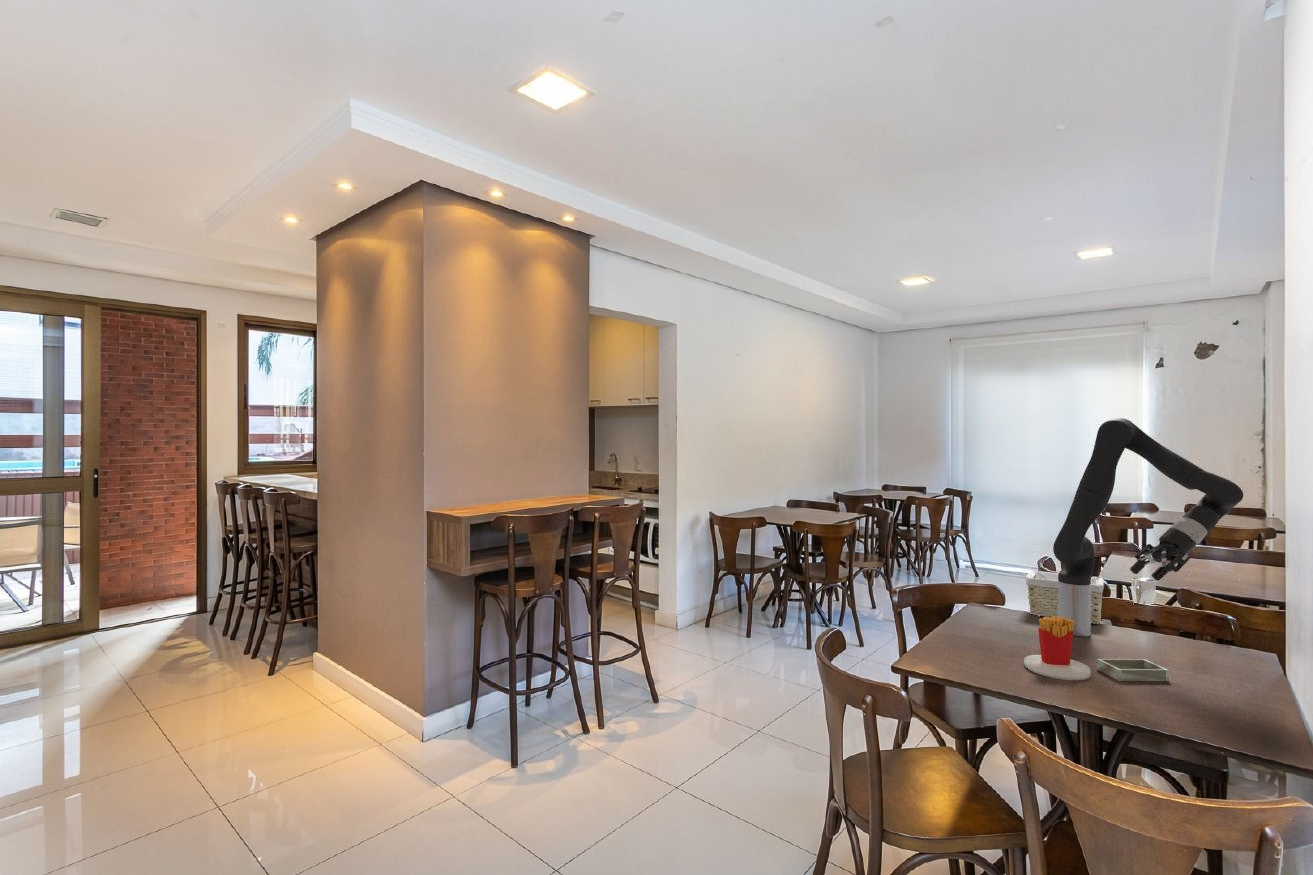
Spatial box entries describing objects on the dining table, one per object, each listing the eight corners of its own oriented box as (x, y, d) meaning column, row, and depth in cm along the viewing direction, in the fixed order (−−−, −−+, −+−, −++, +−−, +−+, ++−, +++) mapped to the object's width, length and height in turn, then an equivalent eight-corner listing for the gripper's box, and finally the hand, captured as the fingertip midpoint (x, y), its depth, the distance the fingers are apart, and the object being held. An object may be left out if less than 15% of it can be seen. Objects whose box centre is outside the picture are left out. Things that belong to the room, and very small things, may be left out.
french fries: (1043, 664, 177) (1043, 619, 177) (1036, 659, 181) (1035, 615, 181) (1077, 665, 176) (1077, 620, 176) (1069, 660, 180) (1068, 615, 180)
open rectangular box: (1096, 669, 177) (1096, 658, 177) (1144, 669, 177) (1144, 658, 177) (1118, 680, 169) (1118, 669, 169) (1169, 681, 169) (1169, 670, 169)
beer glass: (1127, 618, 227) (1126, 577, 228) (1139, 616, 230) (1139, 576, 230) (1147, 623, 221) (1147, 581, 221) (1160, 621, 223) (1160, 580, 223)
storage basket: (1024, 615, 232) (1024, 576, 232) (1030, 606, 245) (1030, 569, 245) (1103, 627, 217) (1102, 585, 217) (1105, 616, 230) (1104, 577, 230)
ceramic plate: (1012, 659, 185) (1012, 654, 185) (1066, 659, 185) (1066, 654, 185) (1045, 680, 169) (1045, 674, 169) (1104, 680, 169) (1104, 674, 169)
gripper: (1155, 523, 188) (1116, 561, 189) (1193, 530, 174) (1152, 571, 174) (1173, 541, 188) (1134, 578, 188) (1213, 549, 174) (1172, 589, 174)
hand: (1143, 575), depth 181 cm, fingers open, 8 cm apart
